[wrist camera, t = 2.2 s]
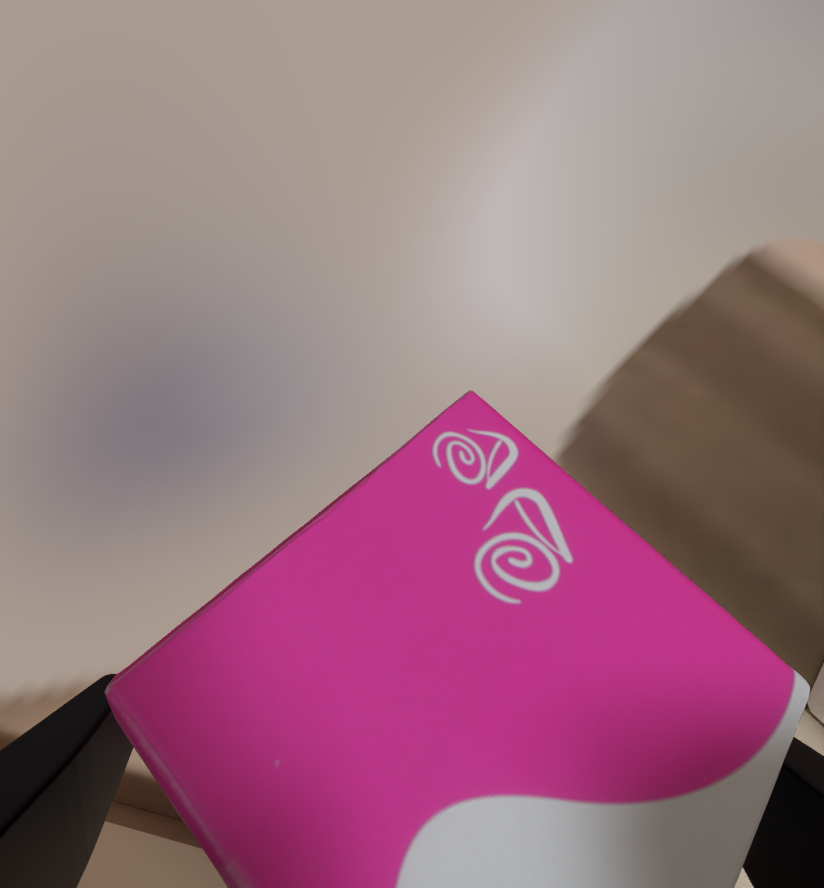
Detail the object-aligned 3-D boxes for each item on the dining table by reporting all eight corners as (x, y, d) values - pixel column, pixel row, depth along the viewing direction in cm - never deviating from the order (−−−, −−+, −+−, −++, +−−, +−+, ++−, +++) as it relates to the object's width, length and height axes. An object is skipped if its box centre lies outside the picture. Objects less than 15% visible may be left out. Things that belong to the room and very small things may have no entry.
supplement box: (508, 683, 15) (846, 697, 5) (379, 853, 13) (553, 1504, 3) (388, 556, 17) (474, 371, 7) (250, 688, 14) (45, 719, 4)
